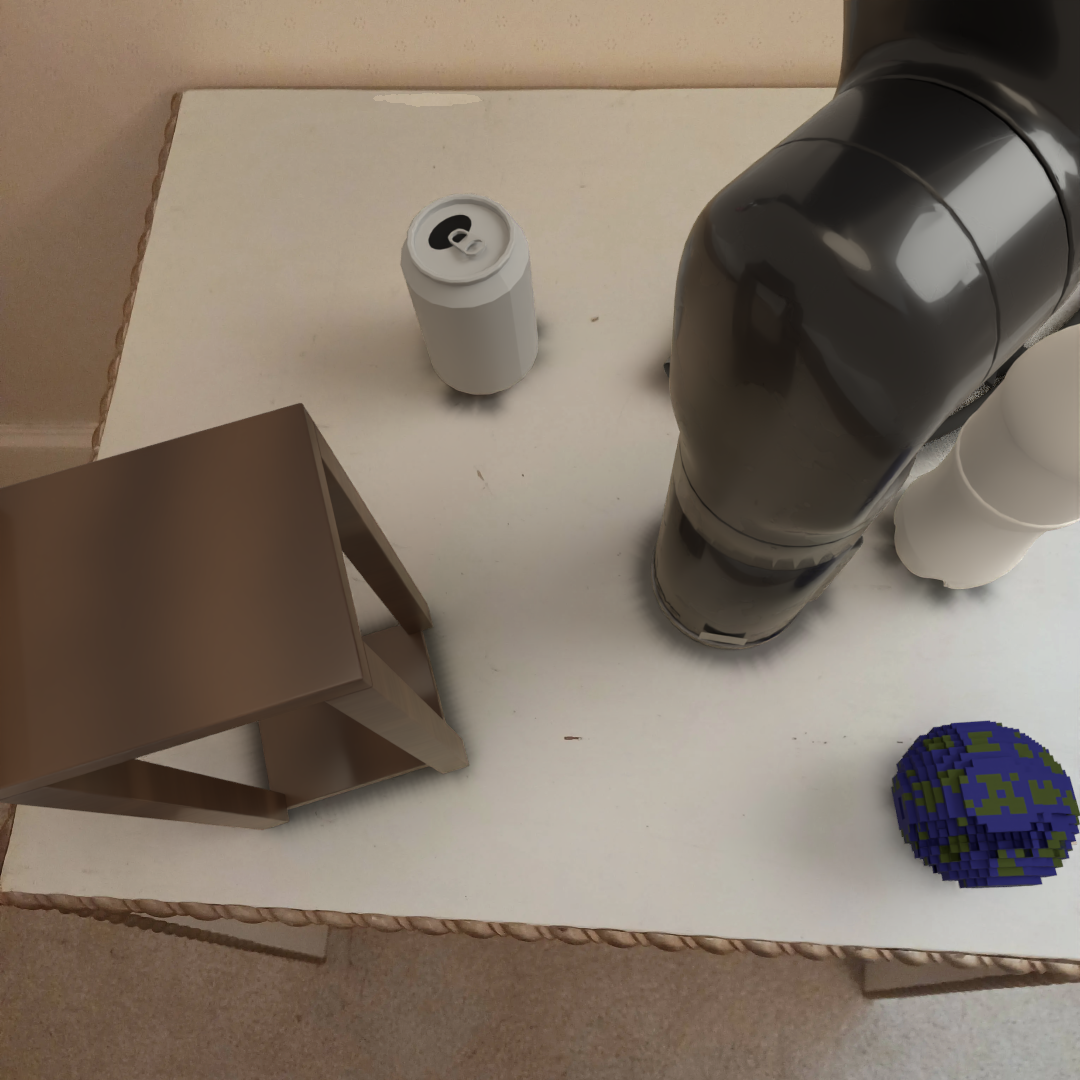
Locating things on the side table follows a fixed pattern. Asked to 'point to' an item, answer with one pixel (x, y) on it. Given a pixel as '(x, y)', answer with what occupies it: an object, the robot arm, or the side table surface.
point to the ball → (985, 805)
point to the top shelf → (207, 630)
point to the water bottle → (1001, 474)
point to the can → (472, 292)
